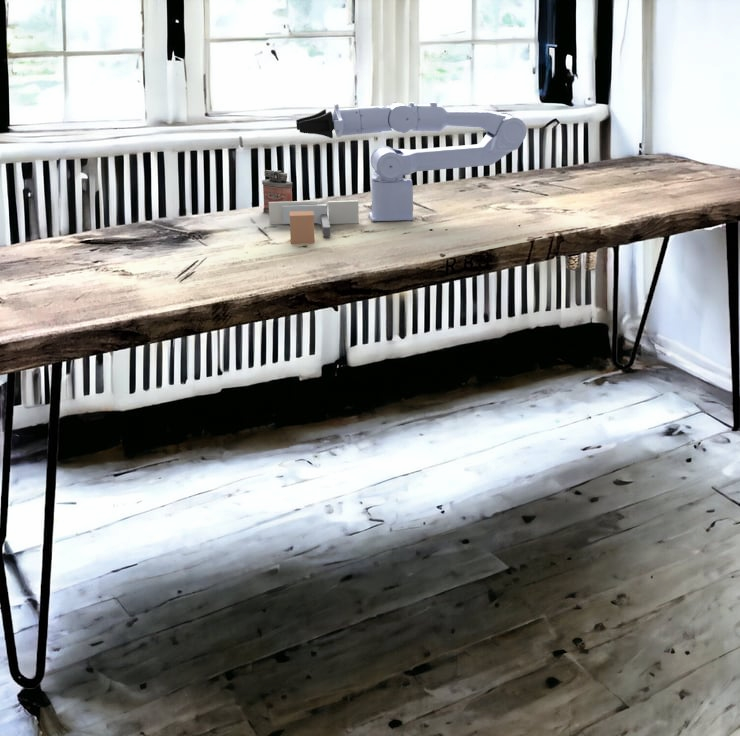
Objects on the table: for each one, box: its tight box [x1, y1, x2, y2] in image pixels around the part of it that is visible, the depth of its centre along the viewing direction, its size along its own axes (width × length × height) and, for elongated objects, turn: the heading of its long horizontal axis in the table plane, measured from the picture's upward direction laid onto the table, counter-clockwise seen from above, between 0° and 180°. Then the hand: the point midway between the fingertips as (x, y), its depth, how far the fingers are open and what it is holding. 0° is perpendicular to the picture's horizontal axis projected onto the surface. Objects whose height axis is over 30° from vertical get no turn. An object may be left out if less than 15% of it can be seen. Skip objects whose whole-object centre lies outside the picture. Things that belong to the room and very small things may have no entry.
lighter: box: [261, 169, 293, 215], centre depth 241 cm, size 8×3×10 cm, turn 58°
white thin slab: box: [268, 199, 360, 225], centre depth 232 cm, size 20×2×5 cm, turn 95°
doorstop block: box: [289, 211, 316, 245], centre depth 217 cm, size 5×4×6 cm
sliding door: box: [282, 203, 331, 237], centre depth 226 cm, size 10×14×4 cm
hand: (297, 126), depth 227 cm, fingers open, 7 cm apart
